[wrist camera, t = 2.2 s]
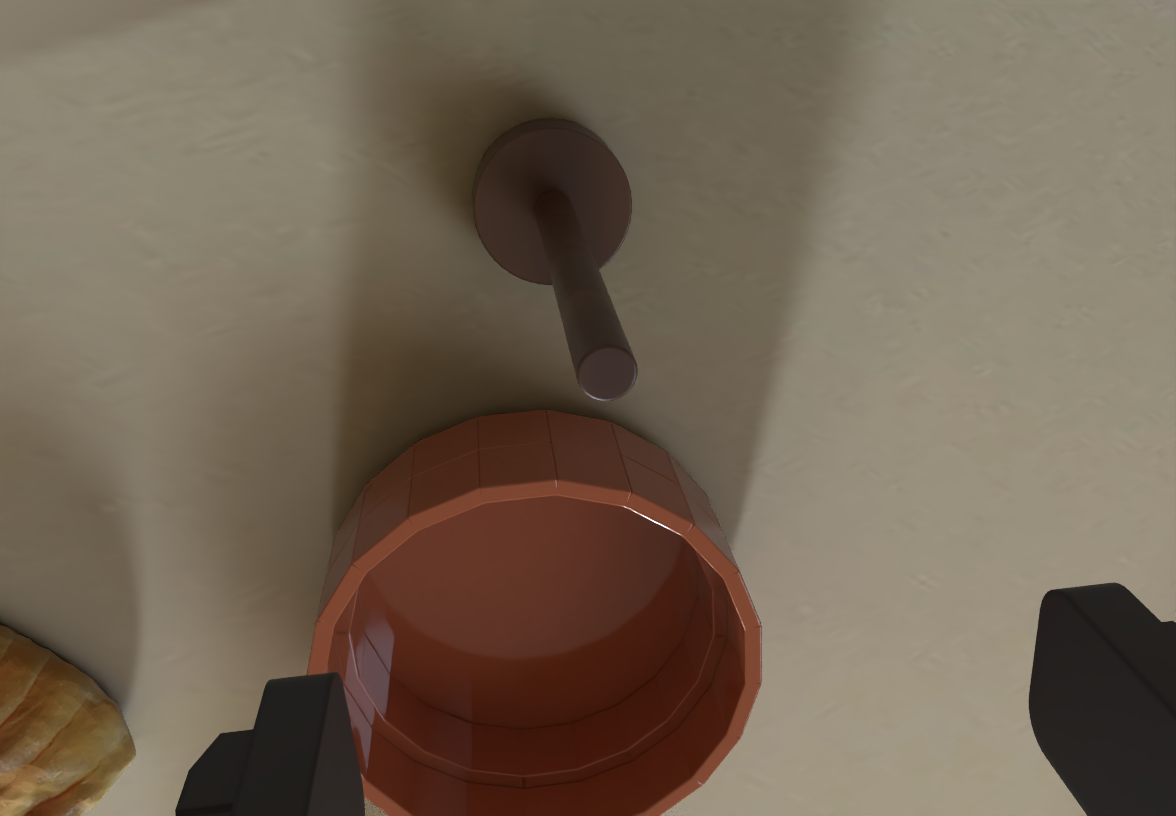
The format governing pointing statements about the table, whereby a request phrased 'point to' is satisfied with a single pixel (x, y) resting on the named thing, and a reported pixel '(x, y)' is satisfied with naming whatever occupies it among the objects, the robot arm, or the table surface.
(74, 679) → the pastry
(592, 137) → the brown plunger
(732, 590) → the mixing bowl
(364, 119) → the table surface
